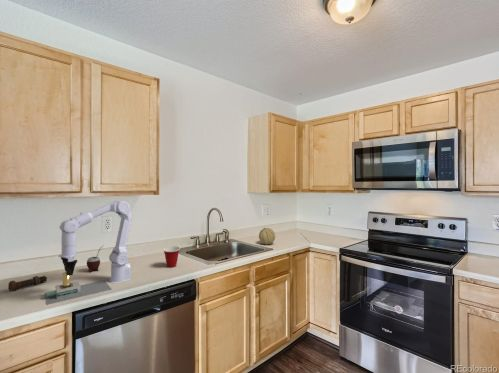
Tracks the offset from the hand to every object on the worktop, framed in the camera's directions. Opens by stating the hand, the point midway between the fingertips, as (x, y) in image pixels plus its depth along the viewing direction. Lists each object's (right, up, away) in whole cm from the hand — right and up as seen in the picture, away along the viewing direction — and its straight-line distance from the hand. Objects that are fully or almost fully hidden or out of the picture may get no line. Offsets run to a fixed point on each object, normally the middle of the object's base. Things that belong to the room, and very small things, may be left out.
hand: (68, 273), depth 125 cm
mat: (+3, -10, +3) cm, 11 cm away
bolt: (-27, -11, +9) cm, 30 cm away
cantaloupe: (+103, -10, +107) cm, 149 cm away
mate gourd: (-8, -10, +34) cm, 36 cm away
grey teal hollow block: (-2, -10, -1) cm, 10 cm away
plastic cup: (+37, -10, +43) cm, 58 cm away
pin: (-1, -10, -1) cm, 10 cm away
